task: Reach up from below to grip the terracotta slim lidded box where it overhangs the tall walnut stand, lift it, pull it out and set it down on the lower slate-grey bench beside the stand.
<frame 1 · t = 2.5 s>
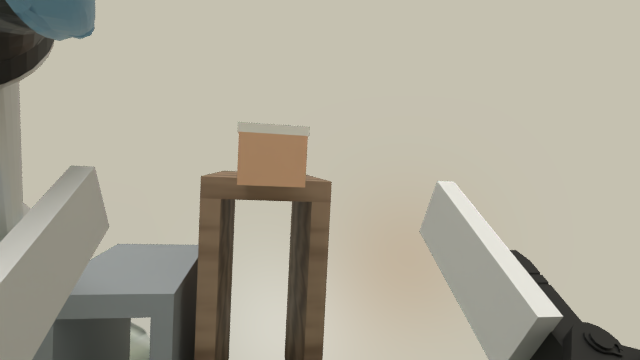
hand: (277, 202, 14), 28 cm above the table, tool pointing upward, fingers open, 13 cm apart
slim box: (267, 177, 36), point 28 cm above the table, touching walnut stand
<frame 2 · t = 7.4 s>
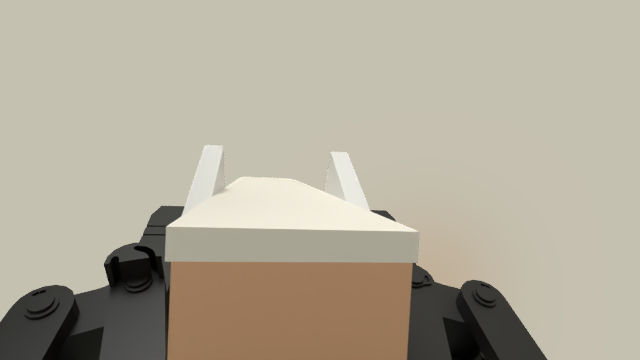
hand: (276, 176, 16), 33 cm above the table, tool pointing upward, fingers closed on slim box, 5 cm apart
slim box: (269, 259, 19), point 28 cm above the table, touching gripper, walnut stand
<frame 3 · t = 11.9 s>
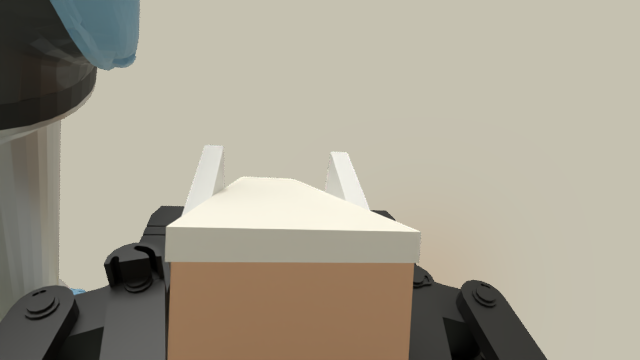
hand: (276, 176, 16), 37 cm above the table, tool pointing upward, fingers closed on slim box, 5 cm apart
slim box: (270, 259, 19), point 32 cm above the table, touching gripper
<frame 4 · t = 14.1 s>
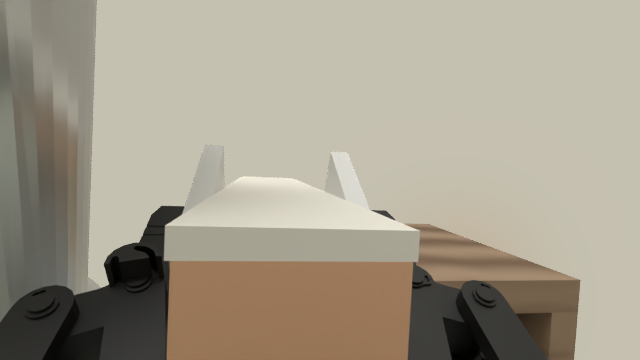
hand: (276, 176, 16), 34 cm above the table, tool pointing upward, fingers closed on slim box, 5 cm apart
slim box: (270, 259, 19), point 29 cm above the table, touching gripper
when the fingers open (25 cm above the table, at t = 16.3 s): slim box drops 2 cm, resting on grey bench.
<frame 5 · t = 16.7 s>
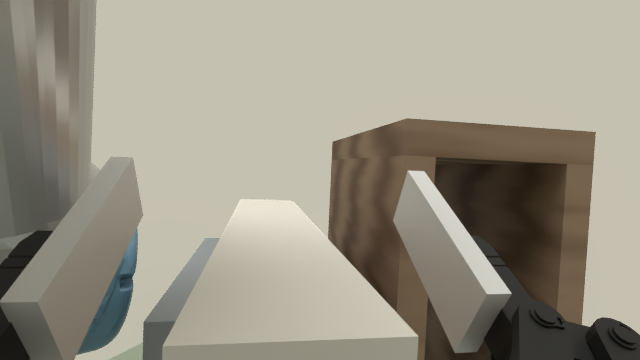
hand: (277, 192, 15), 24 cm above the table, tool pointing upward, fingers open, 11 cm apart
slim box: (269, 296, 19), point 18 cm above the table, touching grey bench
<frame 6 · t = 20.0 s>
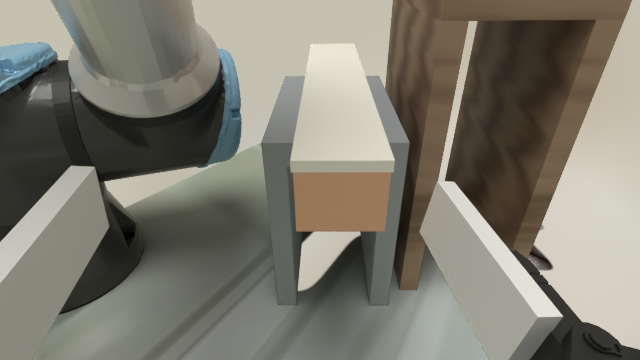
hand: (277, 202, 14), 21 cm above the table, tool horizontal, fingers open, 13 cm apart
walnut stand: (432, 228, 46), on the table
grey bench: (331, 244, 43), on the table
slim box: (334, 127, 29), point 18 cm above the table, touching grey bench
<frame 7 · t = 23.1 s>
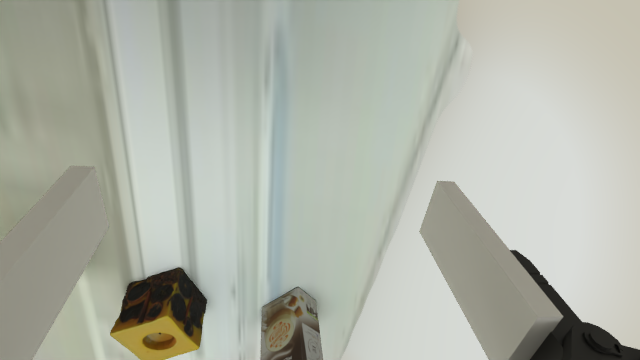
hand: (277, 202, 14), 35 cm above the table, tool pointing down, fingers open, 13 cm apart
coffee box: (288, 303, 71), on the table
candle: (170, 291, 65), on the table
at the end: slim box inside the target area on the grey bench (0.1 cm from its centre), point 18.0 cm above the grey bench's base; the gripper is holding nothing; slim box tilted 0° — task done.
